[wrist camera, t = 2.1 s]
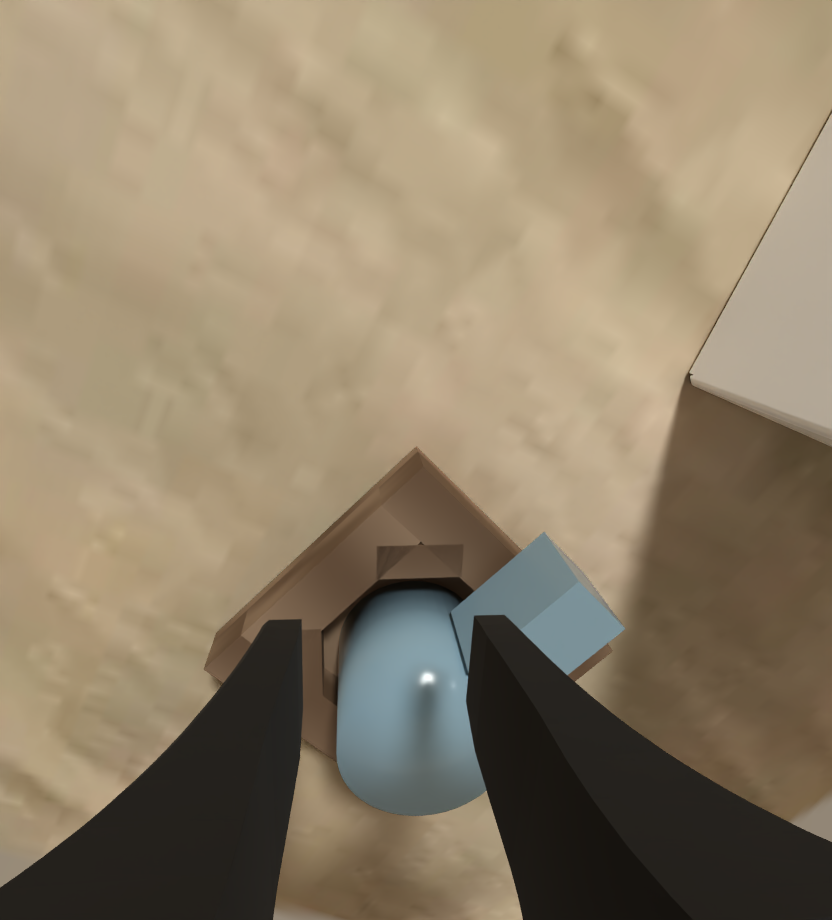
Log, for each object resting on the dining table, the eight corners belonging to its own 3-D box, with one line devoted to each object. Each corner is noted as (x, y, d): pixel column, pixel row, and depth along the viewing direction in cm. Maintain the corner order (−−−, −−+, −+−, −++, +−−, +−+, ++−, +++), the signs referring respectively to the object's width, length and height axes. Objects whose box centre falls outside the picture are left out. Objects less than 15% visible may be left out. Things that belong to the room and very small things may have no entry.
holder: (405, 770, 25) (410, 813, 23) (216, 632, 21) (203, 669, 20) (591, 618, 23) (612, 651, 21) (416, 446, 20) (423, 466, 18)
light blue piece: (406, 721, 23) (421, 841, 18) (308, 646, 22) (298, 756, 17) (588, 570, 22) (655, 659, 17) (498, 477, 20) (545, 546, 15)
